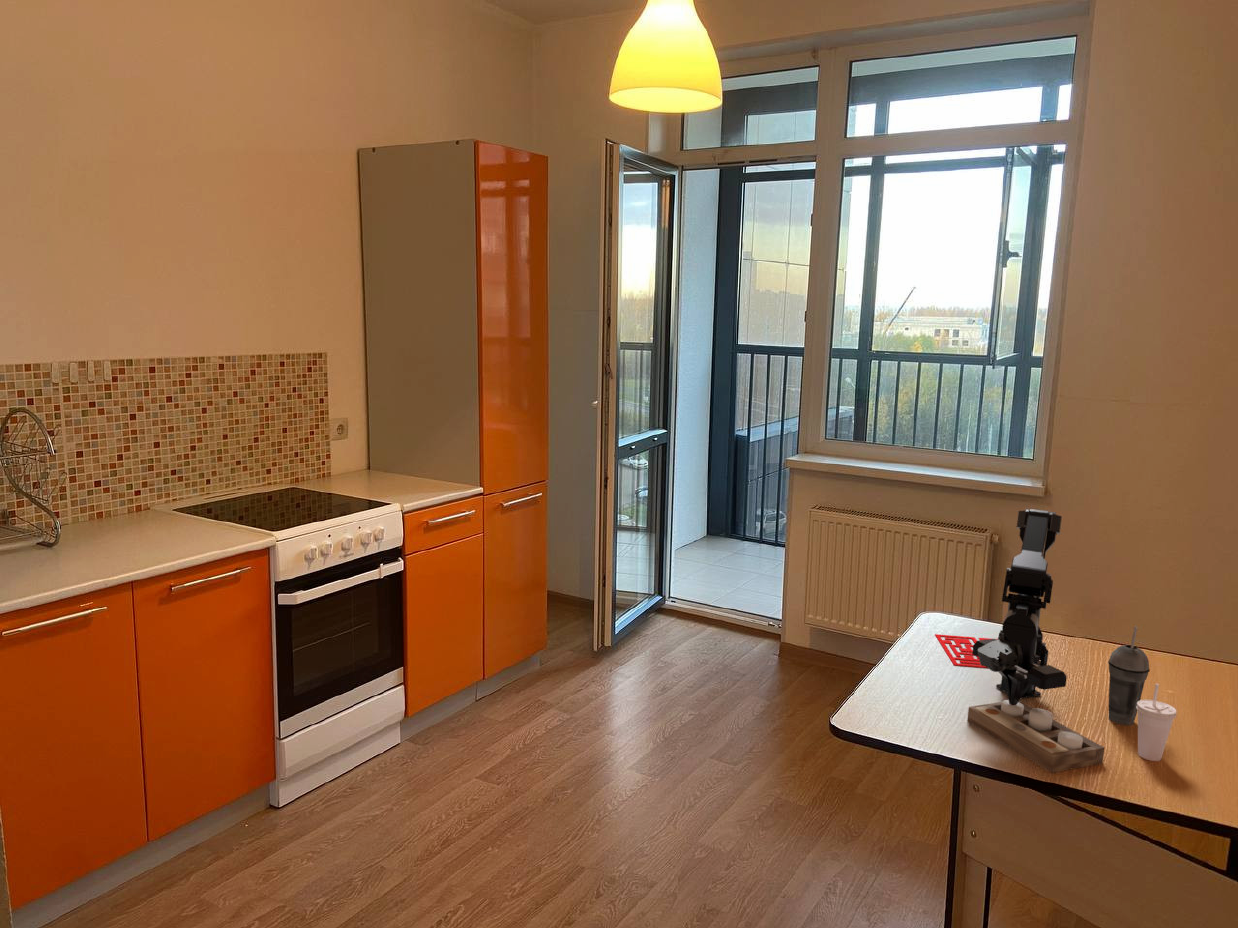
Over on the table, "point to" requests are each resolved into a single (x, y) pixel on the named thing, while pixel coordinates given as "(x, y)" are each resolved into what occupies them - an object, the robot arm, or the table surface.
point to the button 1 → (1012, 708)
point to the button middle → (1040, 720)
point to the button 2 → (1070, 740)
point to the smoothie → (1153, 726)
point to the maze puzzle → (958, 642)
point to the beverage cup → (1126, 681)
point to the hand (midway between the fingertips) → (1012, 704)
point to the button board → (1034, 738)
